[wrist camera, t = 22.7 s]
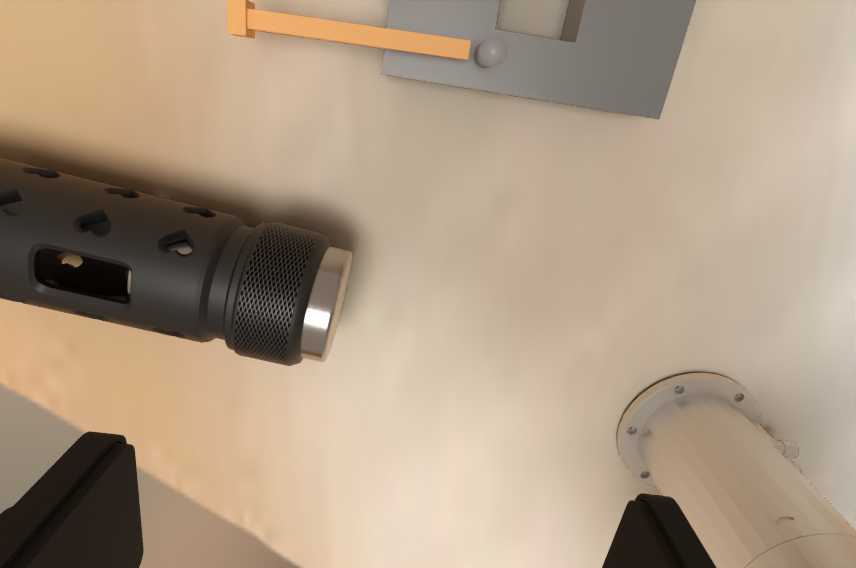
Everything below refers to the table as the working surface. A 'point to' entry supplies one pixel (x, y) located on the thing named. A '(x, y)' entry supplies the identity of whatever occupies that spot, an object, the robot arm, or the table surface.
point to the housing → (552, 52)
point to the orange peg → (339, 32)
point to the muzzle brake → (168, 266)
